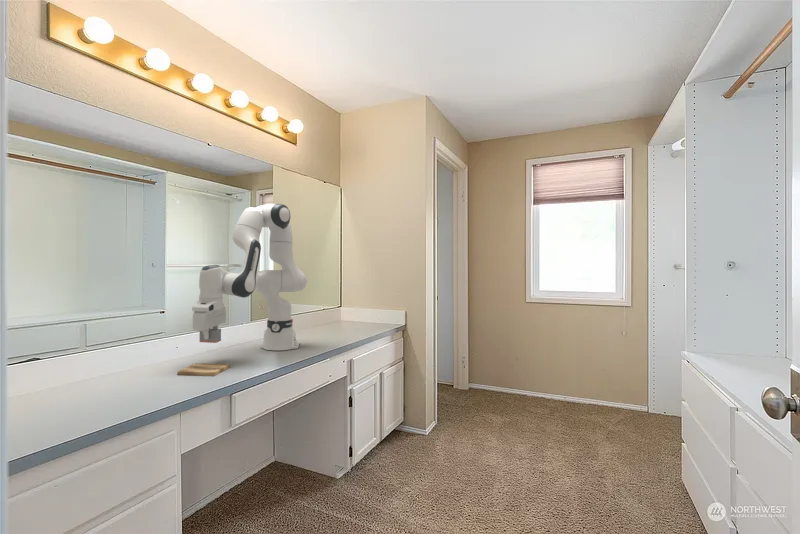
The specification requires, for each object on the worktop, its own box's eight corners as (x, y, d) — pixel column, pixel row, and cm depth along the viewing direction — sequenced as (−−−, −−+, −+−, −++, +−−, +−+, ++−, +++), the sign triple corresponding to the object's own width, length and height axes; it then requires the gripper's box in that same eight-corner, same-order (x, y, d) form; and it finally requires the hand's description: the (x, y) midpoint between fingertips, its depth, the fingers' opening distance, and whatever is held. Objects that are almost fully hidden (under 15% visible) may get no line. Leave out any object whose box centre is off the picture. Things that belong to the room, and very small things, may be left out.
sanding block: (204, 339, 170) (204, 328, 170) (220, 340, 170) (221, 328, 170) (199, 342, 166) (199, 330, 166) (216, 342, 166) (216, 330, 166)
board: (195, 366, 164) (195, 363, 164) (230, 367, 163) (230, 364, 163) (177, 374, 151) (177, 371, 151) (214, 375, 150) (214, 372, 150)
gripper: (215, 300, 178) (215, 332, 179) (189, 307, 158) (189, 342, 158) (230, 301, 178) (229, 332, 178) (205, 308, 157) (205, 343, 158)
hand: (210, 337), depth 168 cm, fingers closed on sanding block, 4 cm apart
